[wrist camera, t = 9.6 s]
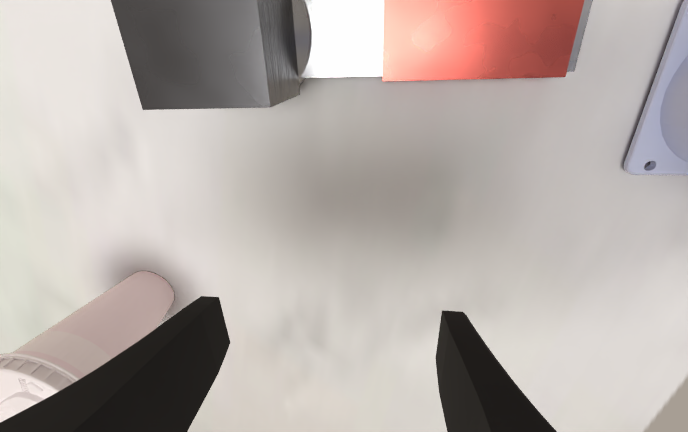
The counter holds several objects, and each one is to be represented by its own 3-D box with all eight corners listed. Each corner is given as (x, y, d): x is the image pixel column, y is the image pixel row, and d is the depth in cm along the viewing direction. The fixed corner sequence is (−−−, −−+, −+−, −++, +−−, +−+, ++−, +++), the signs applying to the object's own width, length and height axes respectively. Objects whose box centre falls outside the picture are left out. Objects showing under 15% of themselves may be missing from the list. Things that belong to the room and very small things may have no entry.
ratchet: (595, -69, 13) (677, -119, 10) (554, 96, 16) (606, 109, 12) (179, -40, 15) (113, -71, 12) (208, 102, 18) (162, 114, 14)
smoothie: (202, 320, 26) (32, 564, 13) (133, 322, 27) (-84, 550, 15) (173, 253, 23) (-74, 480, 11) (96, 258, 24) (-208, 470, 12)
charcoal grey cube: (289, -34, 14) (248, -72, 9) (300, 94, 16) (270, 107, 12) (177, -26, 14) (94, -58, 10) (202, 96, 16) (142, 109, 12)
